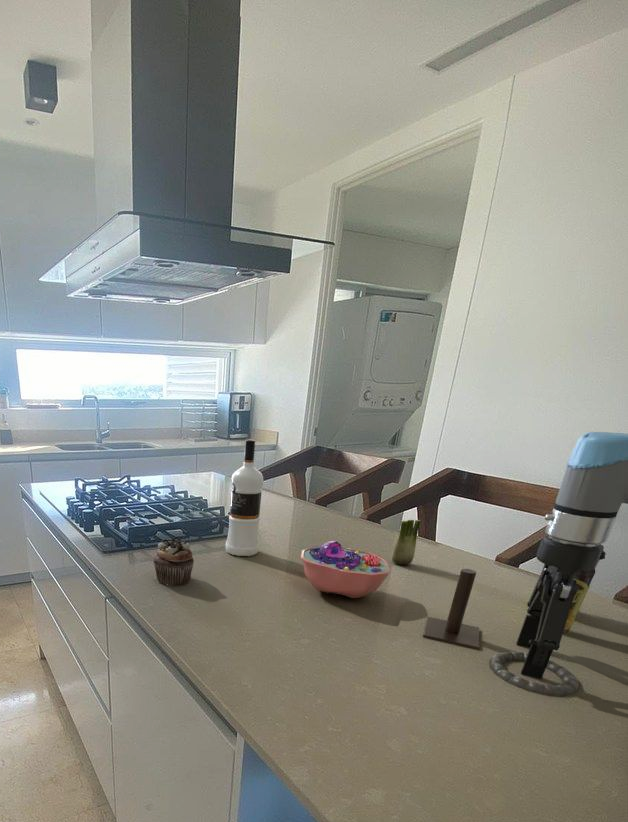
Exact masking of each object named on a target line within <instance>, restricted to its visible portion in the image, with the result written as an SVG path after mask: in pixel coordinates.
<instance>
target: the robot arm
mask: <svg viewBox="0 0 628 822" xmlns="http://www.w3.org/2000/svg"><path fill="white" fill-rule="evenodd" d="M622 504H627V505H628V433H625V432H608V431H590V432H589V431H588V432H586V433H583V434H582V435H580V437H579V438H578V439H577V441H576V443H575V446H574V447H573V449H572V452H571V454H570V457H569V458H568V461H567V462H566V469H565V471H564V475H563V478H562V481H561V484H560V487H559V490H558V493H557V495H556V500H555V502H554V505H553V508H552V511H551V512H552V514H551V513H549V514H548V513H547V514H545V517H544V520H545V521H547V524H546V528H545V534H546V535H545V536H543V537H542V538H541V541H540V544H539V546H538V550H537V552H536V559H537V560H538V562H540V563H542V564H543V567H542V569H541V572H540V575H539V577H538V579H537V581H536V584H535V586H534V588H533V591H532V593H531V595H530V597H529V599H528V601H527V603H526V606H527V609H526V612H527V614H526V615H525V618H524V621H523V623H522V626H521V629H520V631H519V635H518V638H517V640H516V643H515V644H516V646H519V647H524V648H528V652H527V654H528V655H527V657H526V660H525V662H523V666H522V669H521V671H520V675H521V676H525V677H530V678H535V679H537V680H538V679H539V680H543V676H544V674H545V672H546V670H547V669H546V666H547V664H548V661H549V660H550V658H551V656H552V654H553V651H558V650H559V649H560V647H561V645H560V644H561V641H562V637H563V634H564V632H563V631H564V628H565V625H566V621H567V618H568V615H569V612H570V608H571V605H572V602H573V599H574V597H575V594H576V592H577V591H578V589H577V586H576V582H577V581H576V580H573V579H574V576H575V573H576V572H578V571H590V570H592V569H594V568H595V567H596V568H597V566H598V564H597V562H598V560H599V557H600V555H601V553H602V550H603V551H604V549H603V548H602V546H601V545H602V544H604V543H607V542H608V539H609V537H610V536H609V535H610V534H611V532H612V529H613V526H614V524H615V522H616V519H617V515H618V513H619V511H620V509H621V506H622ZM600 544H601V545H600ZM599 561H600V560H599ZM598 563H599V562H598ZM596 565H597V566H596ZM596 568H595V569H596ZM540 617H541V618H540Z"/></svg>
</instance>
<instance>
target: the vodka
mask: <svg viewBox="0 0 628 822" xmlns="http://www.w3.org/2000/svg"><path fill="white" fill-rule="evenodd" d="M244 443H245V444H244V453H243V454H244V455H243V464H242V466H241V467H240V468H238V469H237V470H235V471H234V472H233V473H232V475H231V478H230V479H231V487H230V491H231V492H230V504H229V505H230V506H229V515H228V531H227V538H226V541H225V551H226V552H227V553H228V554H229V553H230V555H231V554H232V556H234V555H236V556H235V557H240V556H248V557H253V556H254V555H255V556H256V555H257V554H258V553H259V551H260V544H259V528H260V527H259V526H260V520H261V517H260V516H261V515H260V514H261V503H262V491H263V487H264V475H263V474H262V472H260V470H258V469H257V468H256V467H254V462H255V450H256V440H255V439H245V440H244Z"/></svg>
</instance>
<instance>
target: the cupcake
mask: <svg viewBox="0 0 628 822" xmlns="http://www.w3.org/2000/svg"><path fill="white" fill-rule="evenodd" d="M157 547H158V549H157V550H156V556H155V557H154V558H153V559H152V561H153V566H154V570H155V576H156V581H157V580H158V581H159V582H158V581H157V582H158V583H160V582H161V583H160V584H162V583H164V584H168V585H167V586H169V585H180V586H182V585H181V584H183V585H186V584H185V583H187V582H188V581H189V580H190V581H191V577H192V572H193V568H194V563H195V561H194V558H193V552H192V551H191V549H190V543H188V542H186V541H181V540H180V541H179V538H178V537H174V538H172V539H162V540H161V542H159V543H158V544H157ZM190 581H189V582H190ZM189 582H188V583H189ZM188 583H187V584H188ZM164 584H163V585H164Z"/></svg>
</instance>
